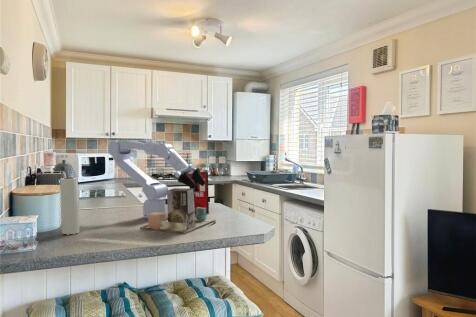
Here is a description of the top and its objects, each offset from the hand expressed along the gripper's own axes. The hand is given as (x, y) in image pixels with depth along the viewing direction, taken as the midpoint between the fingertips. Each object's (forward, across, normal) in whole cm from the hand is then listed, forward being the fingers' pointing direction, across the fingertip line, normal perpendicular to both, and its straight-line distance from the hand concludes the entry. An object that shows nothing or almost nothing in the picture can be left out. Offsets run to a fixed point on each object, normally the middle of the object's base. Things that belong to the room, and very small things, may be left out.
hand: (199, 185), depth 145 cm
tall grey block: (-18, -33, +36) cm, 52 cm away
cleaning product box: (+1, +22, +22) cm, 32 cm away
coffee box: (+10, -14, +12) cm, 21 cm away
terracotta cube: (+1, -15, +18) cm, 24 cm away
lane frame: (+7, -10, +14) cm, 19 cm away
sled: (+10, -10, +12) cm, 18 cm away
